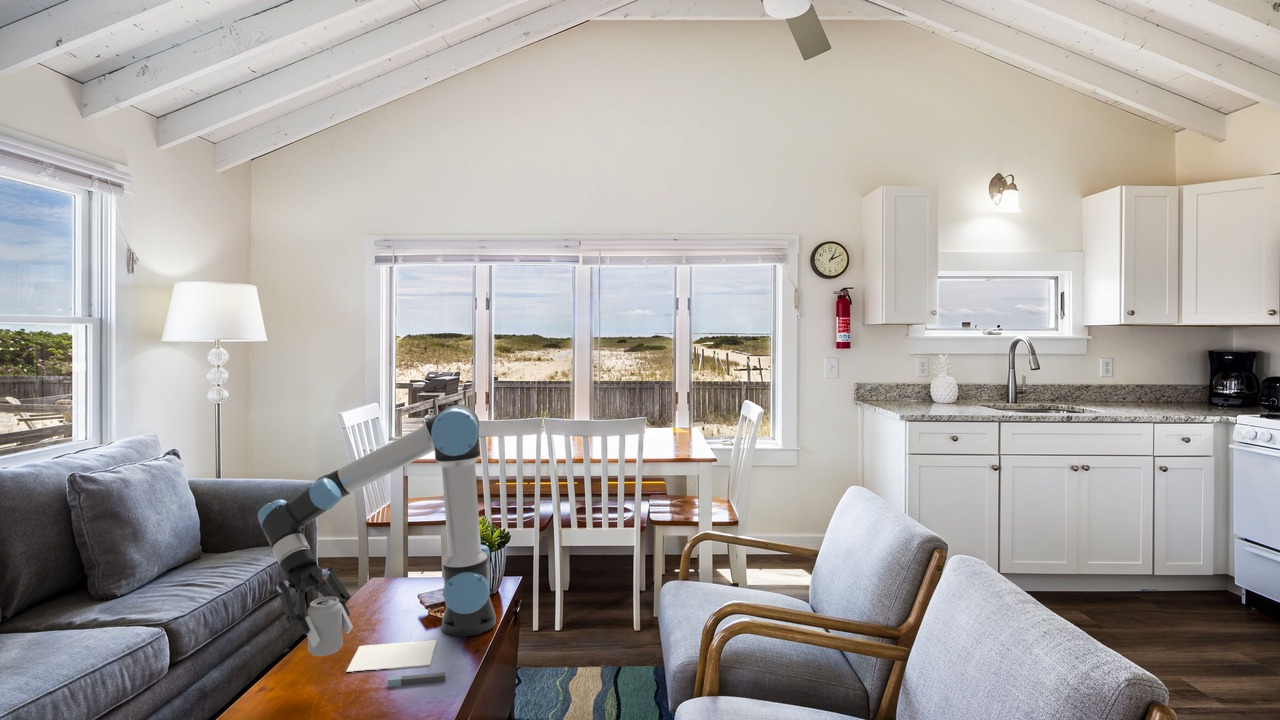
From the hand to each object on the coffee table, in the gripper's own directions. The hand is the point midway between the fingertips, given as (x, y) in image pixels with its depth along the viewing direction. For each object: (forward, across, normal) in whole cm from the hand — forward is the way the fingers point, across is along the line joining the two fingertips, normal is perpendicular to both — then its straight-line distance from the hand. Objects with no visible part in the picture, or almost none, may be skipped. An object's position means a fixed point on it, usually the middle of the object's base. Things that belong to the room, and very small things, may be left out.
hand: (333, 637), depth 155 cm
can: (+1, 0, -6) cm, 6 cm away
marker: (+18, -13, 0) cm, 23 cm away
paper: (+7, -18, -12) cm, 23 cm away
